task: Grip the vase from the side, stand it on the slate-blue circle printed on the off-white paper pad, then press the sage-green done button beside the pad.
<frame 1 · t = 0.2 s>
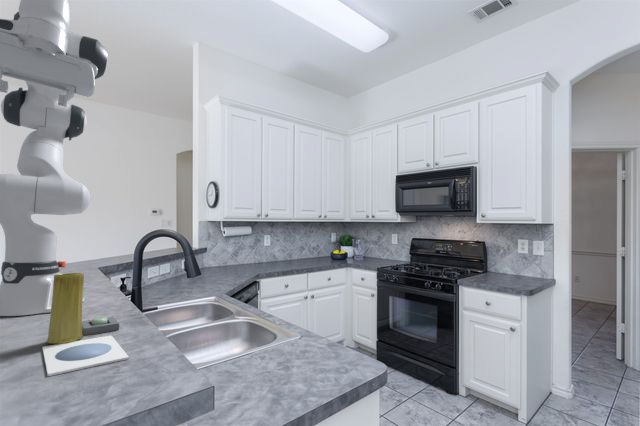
hand: (33, 97, 67), 51 cm above the counter, tool tilted 20°, fingers open, 8 cm apart
done button: (99, 322, 79), point 2 cm above the counter, slide at 0.0 cm
button collar: (99, 329, 79), on the counter
vase: (65, 341, 70), on the counter, touching paper pad
paper pad: (84, 353, 64), on the counter
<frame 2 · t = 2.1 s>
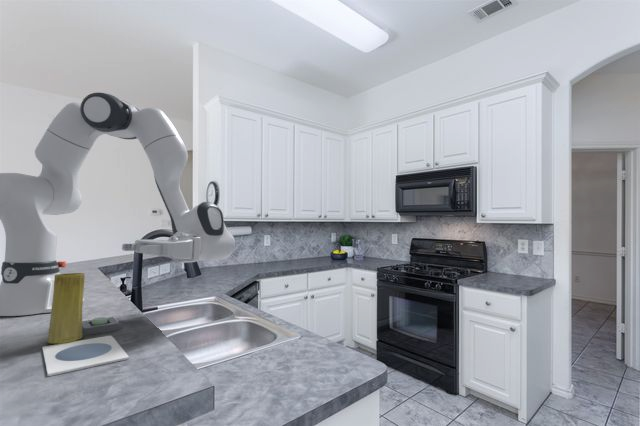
hand: (130, 248, 81), 20 cm above the counter, tool horizontal, fingers open, 8 cm apart
nothing on the counter moved.
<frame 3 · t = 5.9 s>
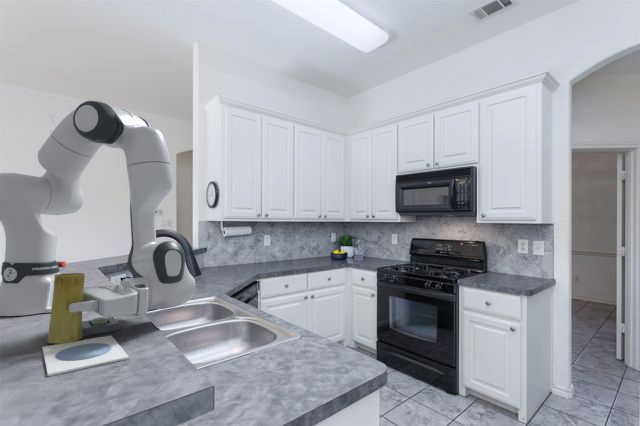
hand: (63, 304, 70), 8 cm above the counter, tool horizontal, fingers open, 6 cm apart
vase: (65, 341, 70), on the counter, touching gripper, paper pad
everything else where it was.
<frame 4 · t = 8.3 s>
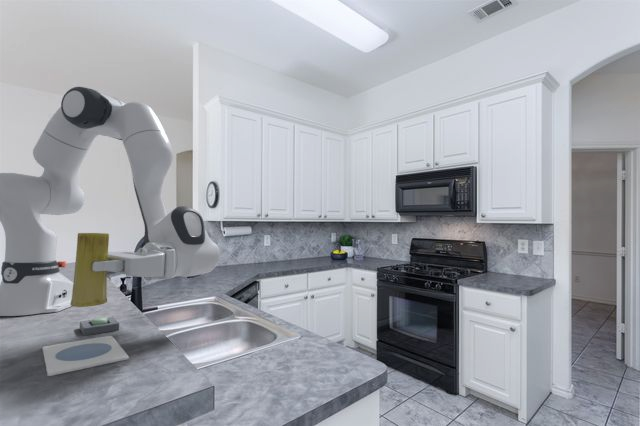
hand: (85, 265, 65), 17 cm above the counter, tool horizontal, fingers closed on vase, 5 cm apart
vase: (89, 304, 65), point 9 cm above the counter, touching gripper
everything else where it was.
when the fingers open (10 cm above the counter, at t = 10.2 s): vase drops 1 cm, resting on paper pad.
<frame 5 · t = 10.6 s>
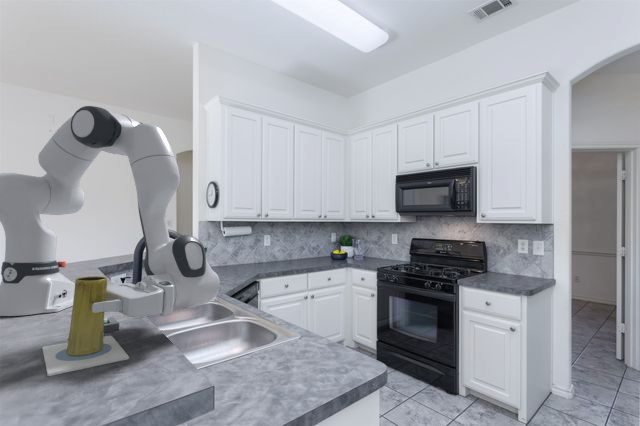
hand: (83, 303, 64), 10 cm above the counter, tool horizontal, fingers open, 8 cm apart
vase: (85, 351, 64), resting on paper pad
everything else where it was.
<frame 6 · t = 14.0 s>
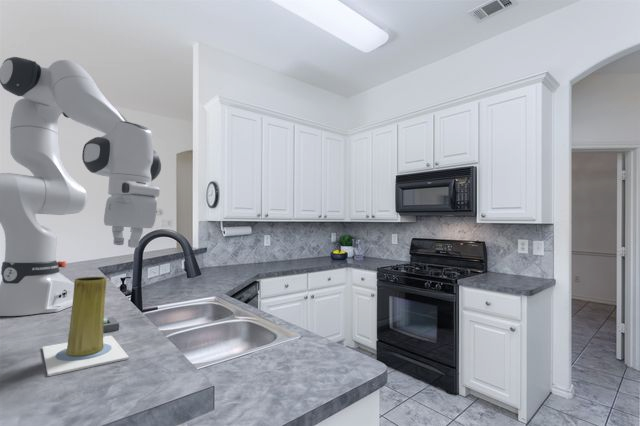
hand: (125, 246, 77), 21 cm above the counter, tool pointing down, fingers open, 7 cm apart
nothing on the counter moved.
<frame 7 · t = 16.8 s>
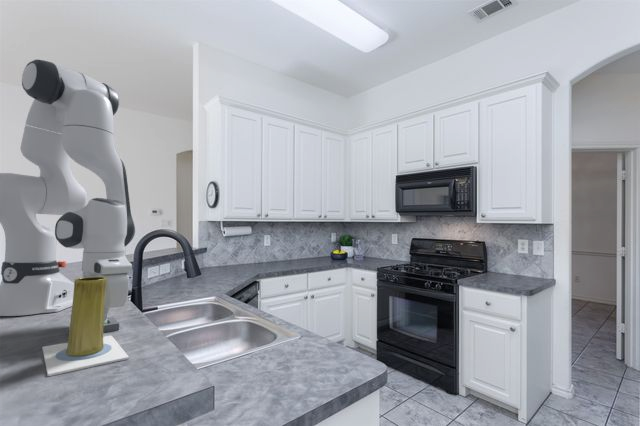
hand: (100, 320, 79), 2 cm above the counter, tool pointing down, fingers closed, pressing on done button
done button: (99, 322, 79), point 1 cm above the counter, slide at 0.2 cm, touching gripper
everything else where it was.
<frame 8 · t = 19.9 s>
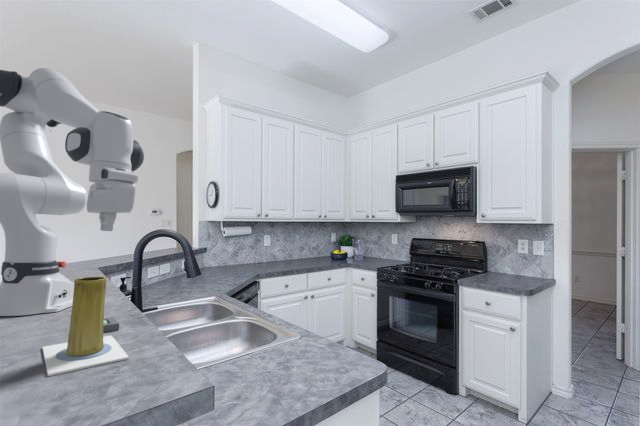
hand: (106, 231, 80), 24 cm above the counter, tool pointing down, fingers closed
done button: (99, 324, 79), point 1 cm above the counter, slide at 0.7 cm
everything else where it was.
at the end: vase 0.1 cm from the paper pad (horizontally); vase tilted 0°; done button slide at 0.7 cm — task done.
